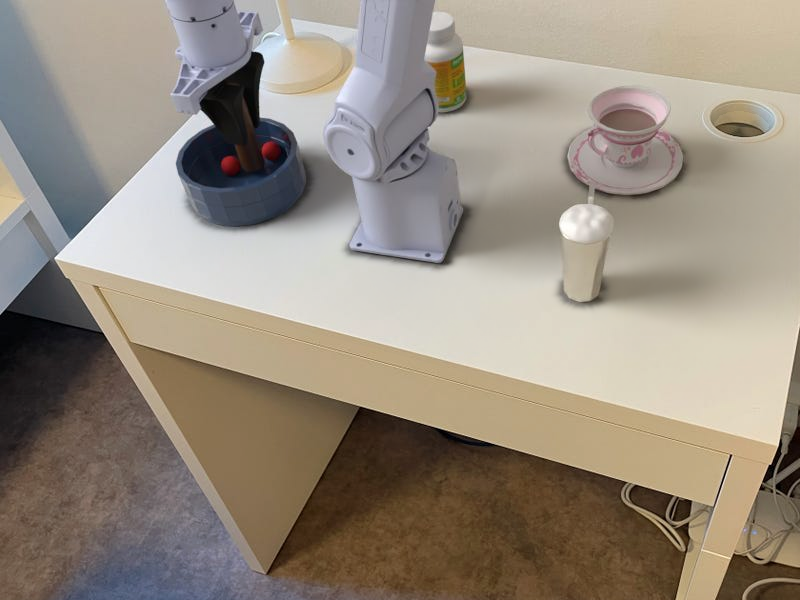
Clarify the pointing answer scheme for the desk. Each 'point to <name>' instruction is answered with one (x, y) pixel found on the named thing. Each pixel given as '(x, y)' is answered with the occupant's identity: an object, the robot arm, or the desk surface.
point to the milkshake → (584, 247)
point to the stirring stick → (249, 145)
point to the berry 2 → (271, 151)
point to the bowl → (241, 177)
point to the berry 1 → (230, 165)
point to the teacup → (626, 143)
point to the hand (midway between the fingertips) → (243, 133)
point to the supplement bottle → (446, 62)
